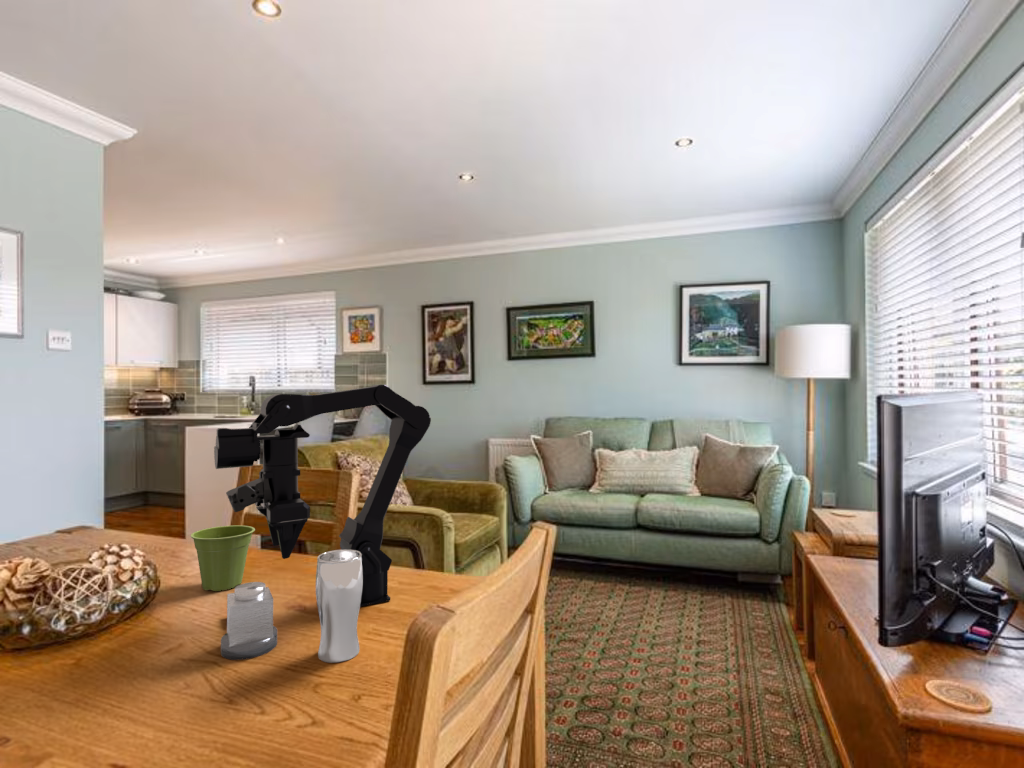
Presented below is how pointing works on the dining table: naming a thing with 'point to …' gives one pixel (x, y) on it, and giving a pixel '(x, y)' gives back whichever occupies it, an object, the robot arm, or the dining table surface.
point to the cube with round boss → (249, 614)
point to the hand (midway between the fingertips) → (280, 551)
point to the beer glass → (339, 603)
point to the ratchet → (248, 648)
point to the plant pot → (222, 555)
